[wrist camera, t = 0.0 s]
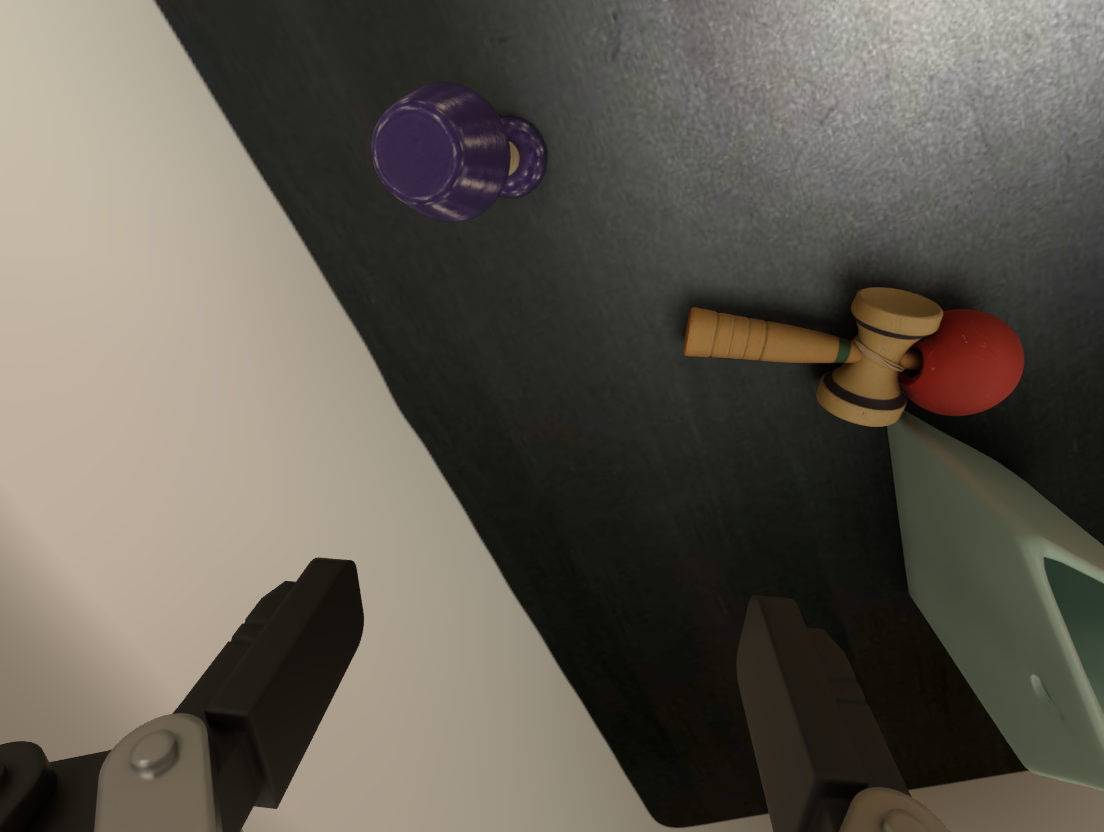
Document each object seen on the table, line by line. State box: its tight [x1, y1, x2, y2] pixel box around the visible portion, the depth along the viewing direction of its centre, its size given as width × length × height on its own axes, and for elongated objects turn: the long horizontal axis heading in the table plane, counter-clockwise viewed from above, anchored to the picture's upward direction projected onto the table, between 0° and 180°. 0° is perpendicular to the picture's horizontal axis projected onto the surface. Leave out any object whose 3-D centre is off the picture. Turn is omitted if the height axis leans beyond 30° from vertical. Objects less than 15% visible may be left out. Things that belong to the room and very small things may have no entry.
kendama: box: [683, 287, 1024, 427], centre depth 33 cm, size 8×6×18 cm
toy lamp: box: [372, 82, 547, 222], centre depth 25 cm, size 5×5×17 cm
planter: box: [887, 410, 1104, 791], centre depth 30 cm, size 16×8×20 cm, turn 20°
